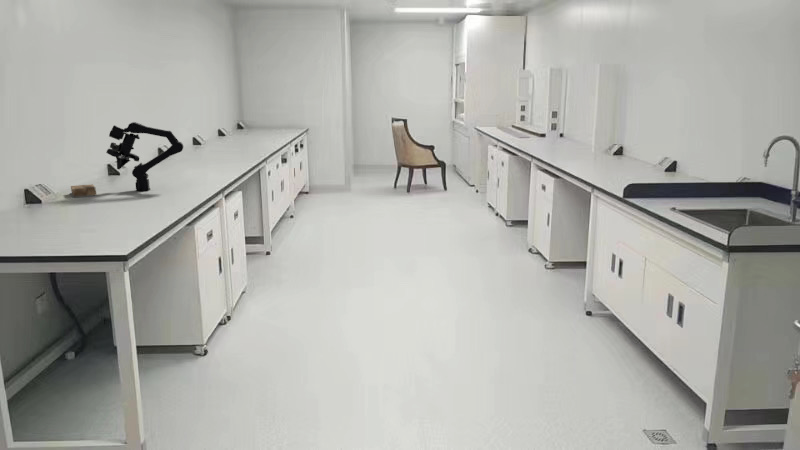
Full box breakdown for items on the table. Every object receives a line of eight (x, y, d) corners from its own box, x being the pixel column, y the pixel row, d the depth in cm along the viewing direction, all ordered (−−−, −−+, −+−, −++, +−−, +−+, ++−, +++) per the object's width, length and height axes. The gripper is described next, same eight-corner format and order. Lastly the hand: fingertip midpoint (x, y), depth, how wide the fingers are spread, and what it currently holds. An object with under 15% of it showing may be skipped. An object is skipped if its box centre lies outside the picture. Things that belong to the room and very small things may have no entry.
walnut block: (92, 184, 347) (70, 185, 341) (95, 187, 337) (73, 189, 331) (93, 191, 347) (71, 193, 342) (96, 194, 338) (73, 196, 332)
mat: (91, 192, 348) (91, 191, 348) (95, 195, 336) (95, 195, 336) (69, 193, 342) (69, 193, 342) (72, 197, 331) (72, 196, 331)
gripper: (131, 141, 360) (121, 166, 361) (104, 135, 343) (94, 161, 344) (144, 148, 356) (134, 173, 357) (118, 142, 338) (108, 168, 340)
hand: (118, 169), depth 350 cm, fingers closed
